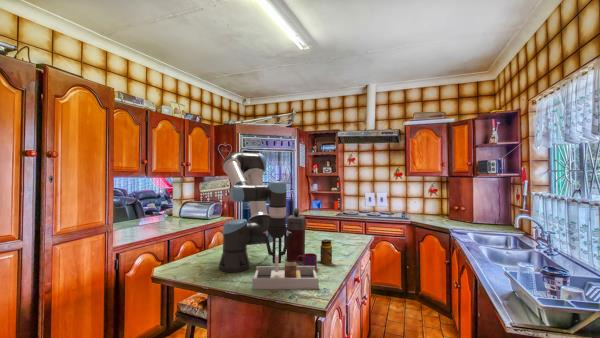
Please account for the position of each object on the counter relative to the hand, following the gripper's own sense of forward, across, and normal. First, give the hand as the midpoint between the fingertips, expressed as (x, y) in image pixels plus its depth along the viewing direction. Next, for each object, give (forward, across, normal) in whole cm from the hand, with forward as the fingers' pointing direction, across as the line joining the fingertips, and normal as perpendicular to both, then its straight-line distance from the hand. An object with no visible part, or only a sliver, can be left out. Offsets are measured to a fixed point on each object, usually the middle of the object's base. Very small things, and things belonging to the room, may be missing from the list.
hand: (276, 270), depth 121 cm
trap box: (+5, +4, 0) cm, 6 cm away
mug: (+5, +15, +16) cm, 22 cm away
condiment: (+5, +25, +24) cm, 35 cm away
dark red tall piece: (+5, +9, +32) cm, 34 cm away
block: (+2, +6, 0) cm, 6 cm away
